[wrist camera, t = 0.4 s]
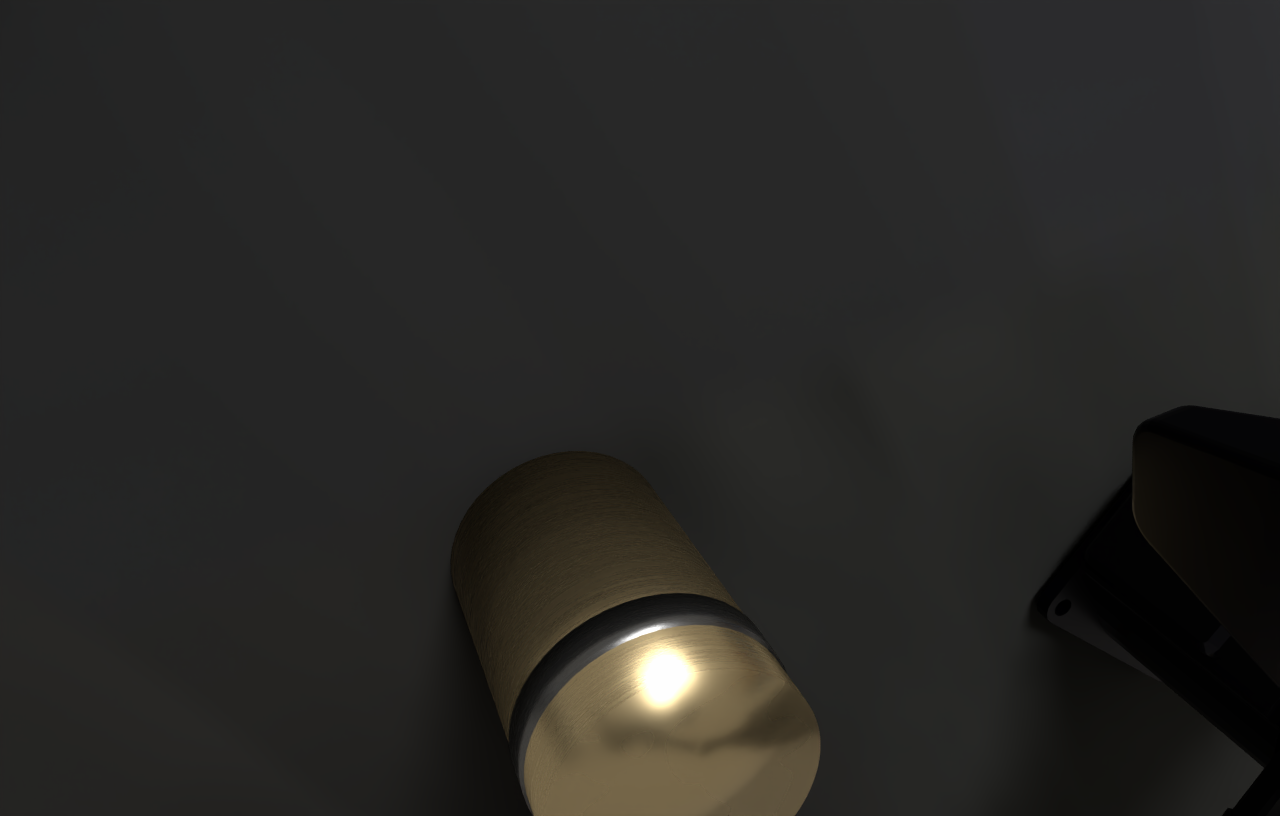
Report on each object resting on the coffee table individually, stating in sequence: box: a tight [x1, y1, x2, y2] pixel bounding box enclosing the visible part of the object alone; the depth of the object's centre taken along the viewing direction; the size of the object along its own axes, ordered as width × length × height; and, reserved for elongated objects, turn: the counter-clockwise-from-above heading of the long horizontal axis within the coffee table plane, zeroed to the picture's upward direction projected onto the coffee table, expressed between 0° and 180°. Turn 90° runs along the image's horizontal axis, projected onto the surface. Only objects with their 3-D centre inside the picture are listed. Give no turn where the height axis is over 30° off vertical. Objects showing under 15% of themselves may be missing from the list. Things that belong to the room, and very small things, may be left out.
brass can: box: [451, 451, 820, 816], centre depth 20 cm, size 5×5×7 cm
